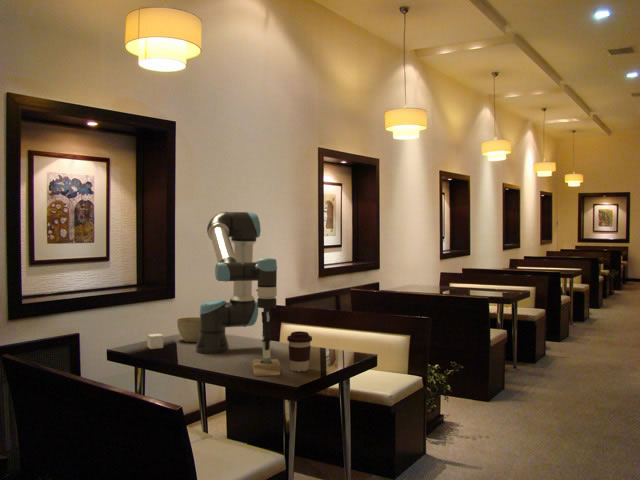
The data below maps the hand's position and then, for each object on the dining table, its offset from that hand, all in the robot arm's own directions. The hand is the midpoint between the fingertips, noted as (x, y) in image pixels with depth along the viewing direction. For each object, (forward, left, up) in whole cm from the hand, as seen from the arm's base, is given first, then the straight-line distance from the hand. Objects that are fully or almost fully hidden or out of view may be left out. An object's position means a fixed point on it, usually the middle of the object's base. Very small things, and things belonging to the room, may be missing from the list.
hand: (266, 356), depth 221 cm
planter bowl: (-70, -32, -6) cm, 77 cm away
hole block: (0, 0, -6) cm, 6 cm away
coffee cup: (-2, +13, -6) cm, 15 cm away
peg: (0, 0, -4) cm, 4 cm away
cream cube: (-55, -49, -6) cm, 74 cm away
